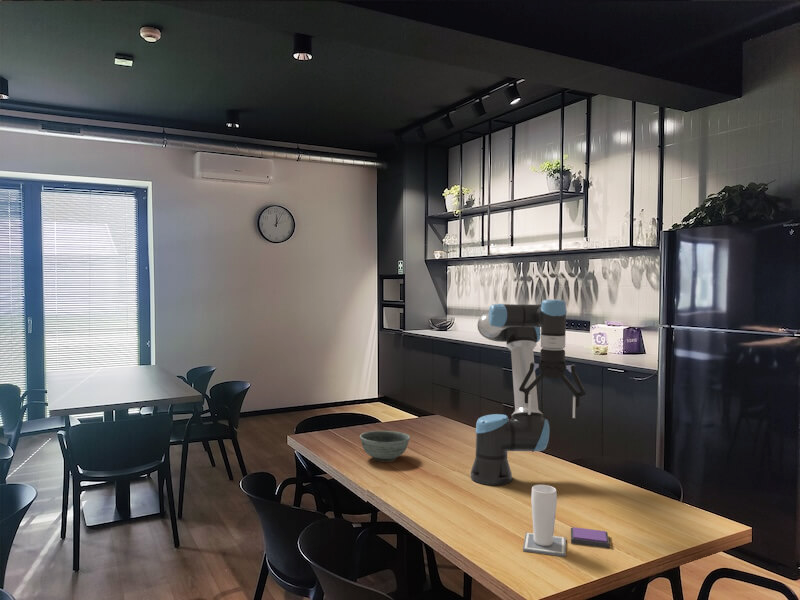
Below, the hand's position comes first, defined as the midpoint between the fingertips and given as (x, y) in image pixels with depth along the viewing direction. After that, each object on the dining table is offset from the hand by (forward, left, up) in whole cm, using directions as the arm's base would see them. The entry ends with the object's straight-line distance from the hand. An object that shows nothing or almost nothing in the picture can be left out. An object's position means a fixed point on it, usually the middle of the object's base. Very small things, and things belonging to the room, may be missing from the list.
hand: (551, 415), depth 181 cm
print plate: (-1, -25, -31) cm, 40 cm away
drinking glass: (-1, -25, -30) cm, 39 cm away
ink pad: (+11, -18, -31) cm, 37 cm away
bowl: (-67, +37, -31) cm, 82 cm away
